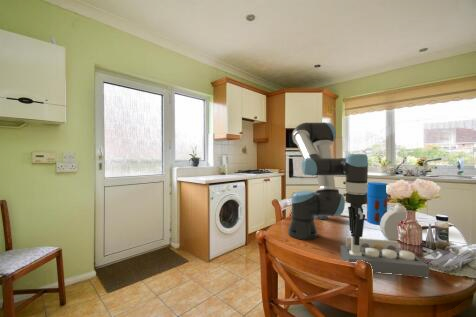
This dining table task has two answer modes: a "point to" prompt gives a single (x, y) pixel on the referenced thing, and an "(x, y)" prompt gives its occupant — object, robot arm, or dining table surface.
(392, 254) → the button
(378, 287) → the dining table surface
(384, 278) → the dining table surface
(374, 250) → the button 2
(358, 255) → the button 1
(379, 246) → the card
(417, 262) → the board
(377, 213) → the thermos
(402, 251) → the button
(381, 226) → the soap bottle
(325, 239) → the dining table surface
